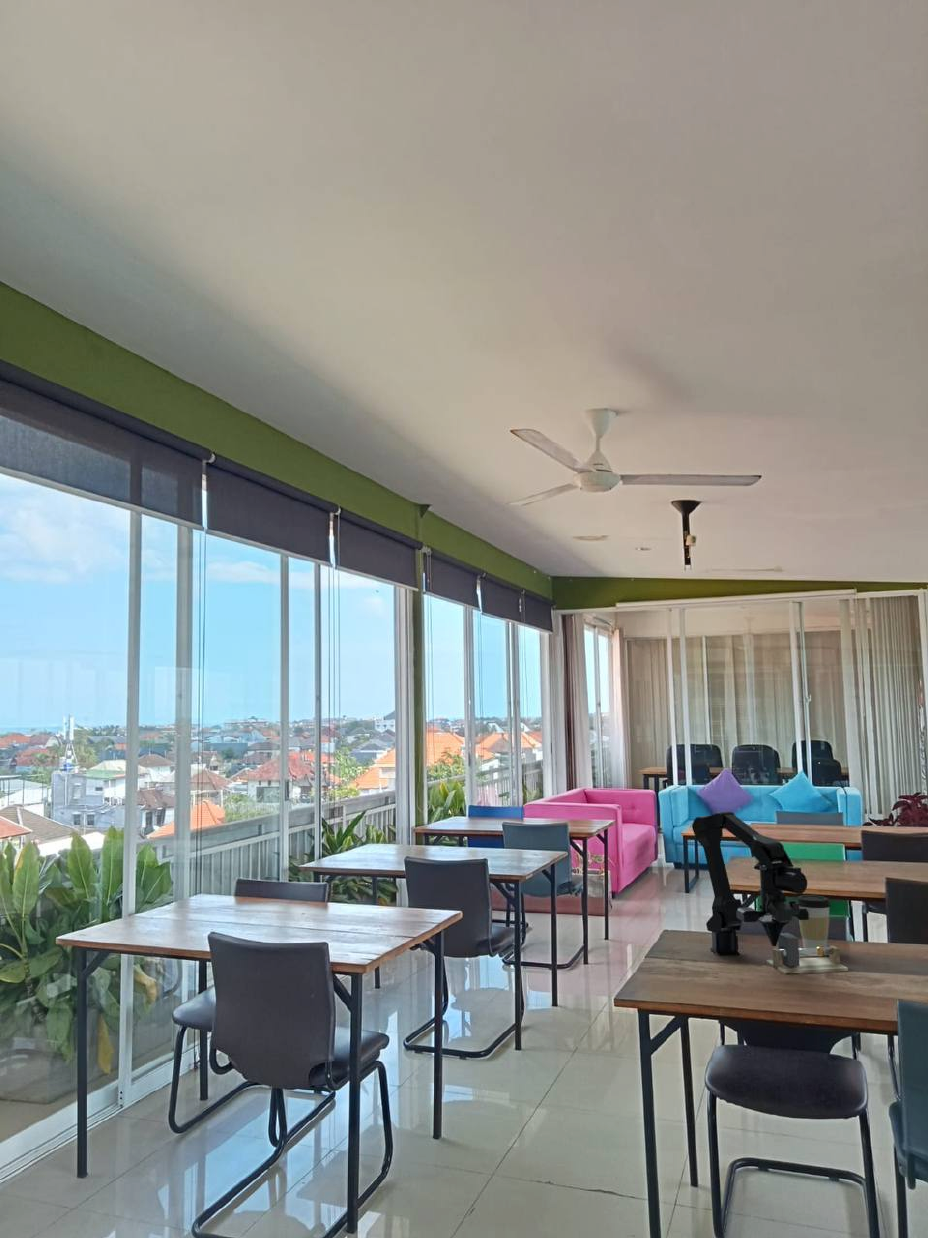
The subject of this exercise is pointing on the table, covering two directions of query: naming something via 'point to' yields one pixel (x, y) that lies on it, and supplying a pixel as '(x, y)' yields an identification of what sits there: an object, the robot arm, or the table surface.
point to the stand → (809, 963)
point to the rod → (811, 951)
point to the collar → (789, 949)
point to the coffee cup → (814, 920)
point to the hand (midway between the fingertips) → (773, 946)
